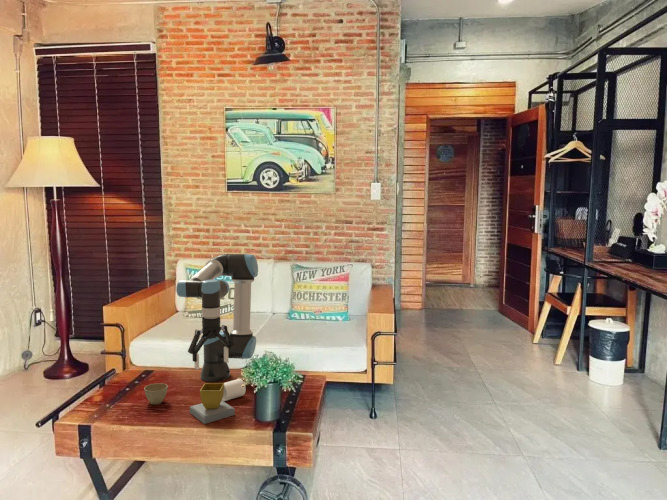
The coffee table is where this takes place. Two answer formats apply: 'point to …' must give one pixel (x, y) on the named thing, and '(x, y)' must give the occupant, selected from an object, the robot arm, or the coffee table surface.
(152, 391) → the round planter pot
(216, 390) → the flower pot
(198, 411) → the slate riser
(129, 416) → the coffee table surface
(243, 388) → the mug
